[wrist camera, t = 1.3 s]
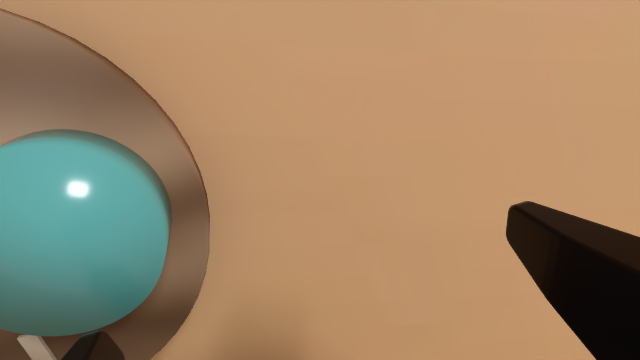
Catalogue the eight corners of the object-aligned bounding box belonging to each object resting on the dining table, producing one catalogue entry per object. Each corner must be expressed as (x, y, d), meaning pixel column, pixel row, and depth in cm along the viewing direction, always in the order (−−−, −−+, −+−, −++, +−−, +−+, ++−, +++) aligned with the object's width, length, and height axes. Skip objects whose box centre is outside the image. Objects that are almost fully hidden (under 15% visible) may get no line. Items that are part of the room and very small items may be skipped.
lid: (195, 259, 19) (193, 296, 17) (28, 313, 18) (-5, 363, 15) (132, 107, 16) (116, 122, 13) (-78, 160, 15) (-142, 188, 12)
